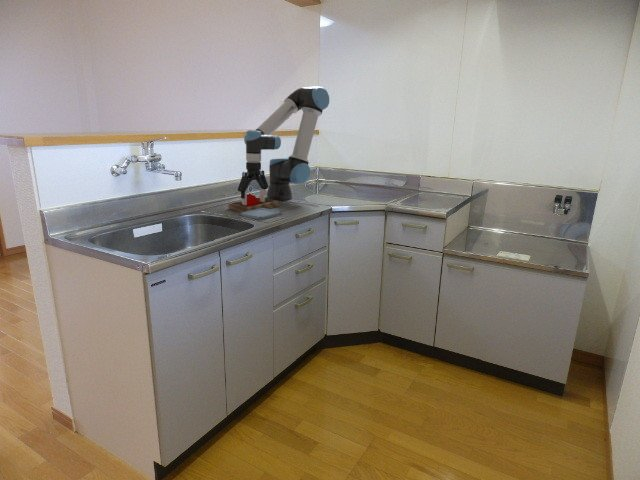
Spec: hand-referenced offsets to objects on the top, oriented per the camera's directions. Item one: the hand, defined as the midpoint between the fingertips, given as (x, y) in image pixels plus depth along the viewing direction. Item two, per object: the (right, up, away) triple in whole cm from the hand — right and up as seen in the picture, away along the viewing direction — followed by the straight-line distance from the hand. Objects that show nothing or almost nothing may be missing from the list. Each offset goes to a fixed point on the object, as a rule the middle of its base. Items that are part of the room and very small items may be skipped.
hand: (253, 202), depth 219 cm
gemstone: (-1, -4, -2) cm, 4 cm away
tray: (+6, -7, -14) cm, 17 cm away
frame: (0, -2, +1) cm, 3 cm away
